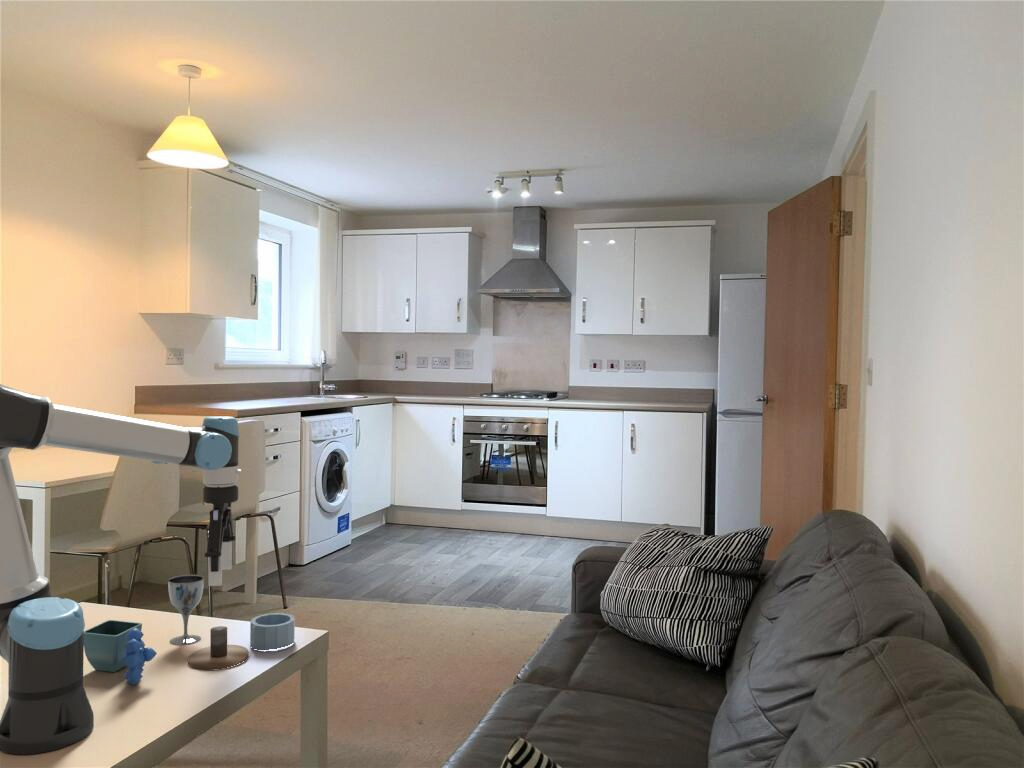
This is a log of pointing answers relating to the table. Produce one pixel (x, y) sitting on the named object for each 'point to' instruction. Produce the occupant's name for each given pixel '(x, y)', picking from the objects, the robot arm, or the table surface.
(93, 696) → the table surface
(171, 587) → the wine glass
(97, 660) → the flower pot
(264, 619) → the bowl
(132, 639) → the grapes
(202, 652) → the lid
